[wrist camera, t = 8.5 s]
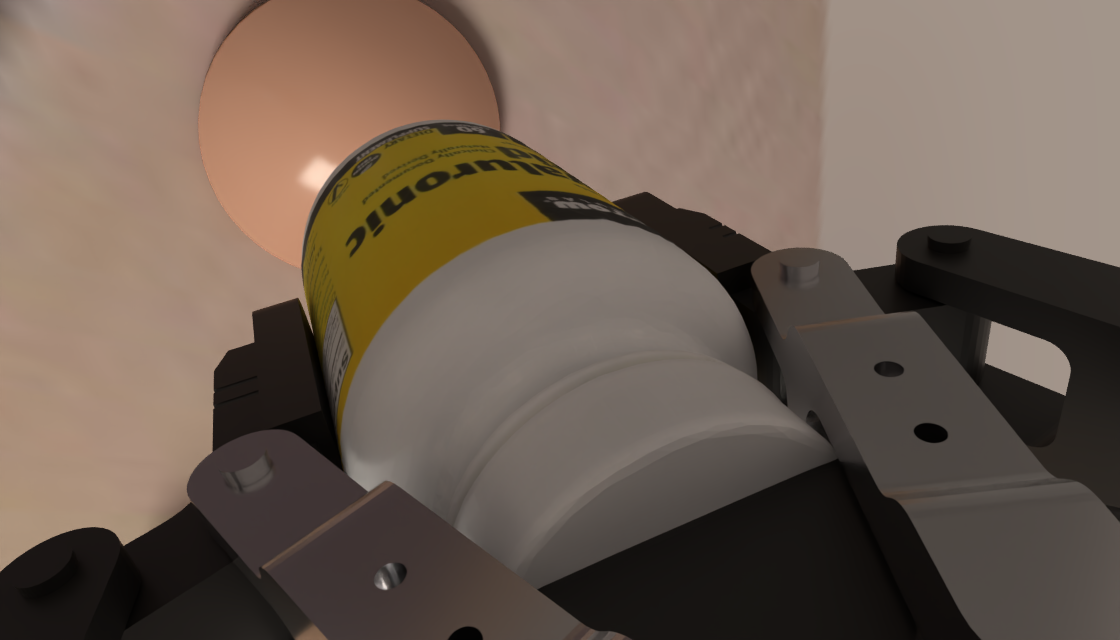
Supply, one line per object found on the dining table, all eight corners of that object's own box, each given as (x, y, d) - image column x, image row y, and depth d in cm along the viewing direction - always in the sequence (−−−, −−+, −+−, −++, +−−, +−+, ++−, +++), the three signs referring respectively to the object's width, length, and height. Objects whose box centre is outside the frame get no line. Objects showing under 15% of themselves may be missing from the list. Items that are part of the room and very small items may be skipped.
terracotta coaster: (144, 17, 20) (142, 19, 19) (462, -47, 22) (467, -47, 22) (263, 306, 24) (264, 313, 24) (516, 227, 27) (522, 233, 26)
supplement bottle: (565, 104, 15) (988, 305, 7) (559, 345, 17) (863, 708, 9) (275, 119, 13) (366, 427, 5) (314, 388, 15) (419, 896, 7)
